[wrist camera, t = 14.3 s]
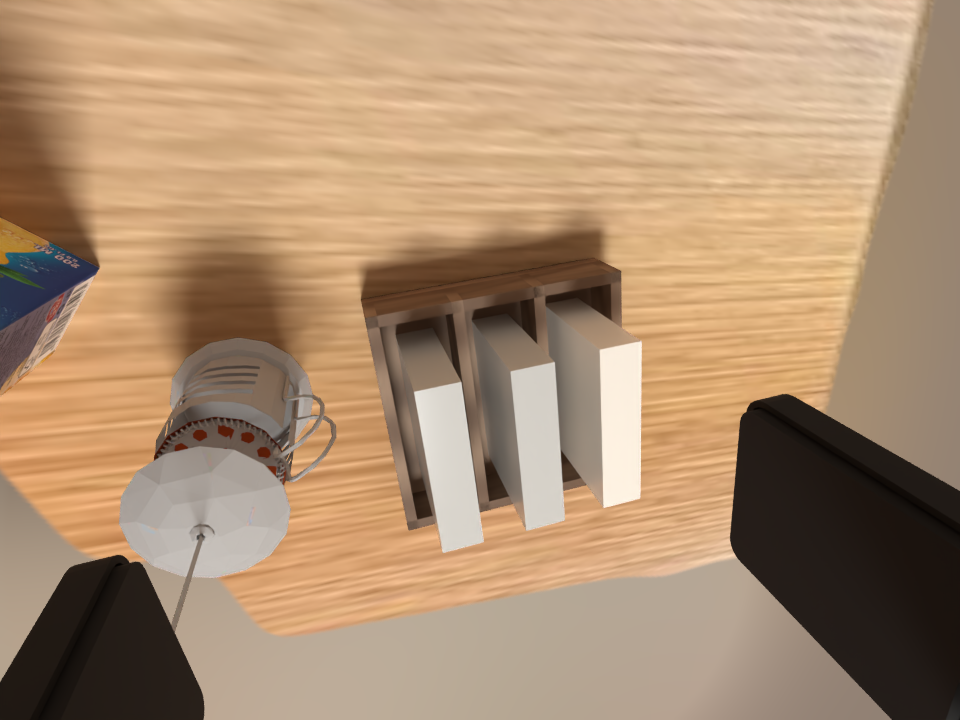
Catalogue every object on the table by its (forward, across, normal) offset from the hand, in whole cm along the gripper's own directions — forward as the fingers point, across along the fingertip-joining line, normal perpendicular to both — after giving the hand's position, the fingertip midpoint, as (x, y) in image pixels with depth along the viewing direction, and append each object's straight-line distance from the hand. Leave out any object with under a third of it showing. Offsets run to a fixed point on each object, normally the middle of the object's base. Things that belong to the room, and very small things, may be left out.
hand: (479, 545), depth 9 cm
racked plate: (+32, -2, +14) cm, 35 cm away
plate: (+32, -14, +14) cm, 38 cm away
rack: (+33, -8, +14) cm, 37 cm away
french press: (+34, +10, +11) cm, 37 cm away
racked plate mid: (+33, -8, +14) cm, 37 cm away
